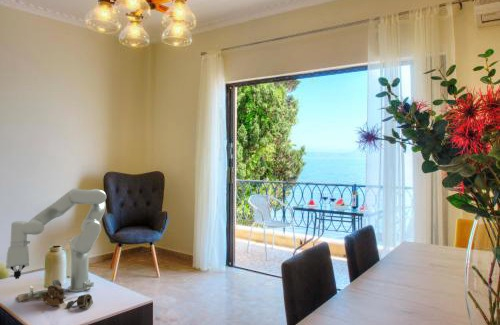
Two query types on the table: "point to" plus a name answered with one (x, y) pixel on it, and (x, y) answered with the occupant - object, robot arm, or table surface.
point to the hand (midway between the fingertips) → (17, 278)
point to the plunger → (31, 290)
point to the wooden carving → (54, 295)
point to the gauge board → (35, 293)
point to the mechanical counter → (81, 302)
